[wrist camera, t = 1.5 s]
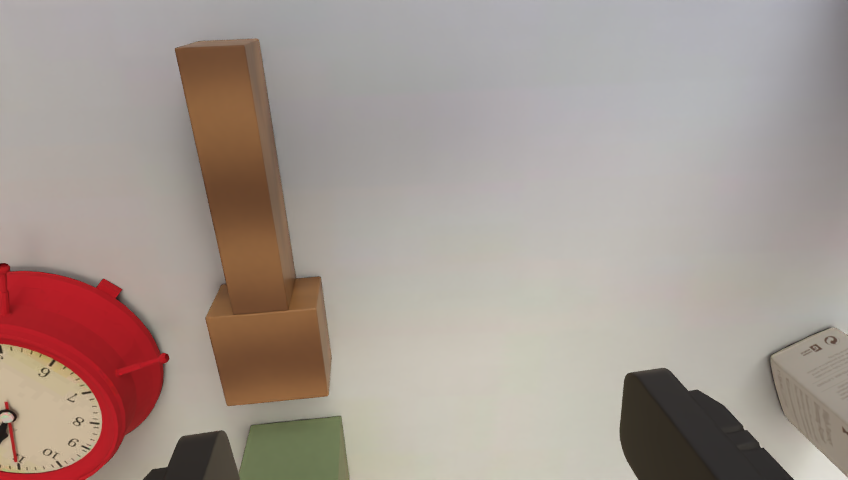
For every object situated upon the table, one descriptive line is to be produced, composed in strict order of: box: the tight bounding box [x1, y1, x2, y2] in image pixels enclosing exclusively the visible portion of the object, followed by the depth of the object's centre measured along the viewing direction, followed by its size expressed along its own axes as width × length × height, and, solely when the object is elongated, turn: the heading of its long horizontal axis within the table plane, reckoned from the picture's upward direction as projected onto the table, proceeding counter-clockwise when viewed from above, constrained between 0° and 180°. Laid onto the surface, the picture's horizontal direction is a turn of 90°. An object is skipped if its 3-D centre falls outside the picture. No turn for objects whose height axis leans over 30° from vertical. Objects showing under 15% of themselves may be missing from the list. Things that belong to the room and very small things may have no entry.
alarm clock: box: [0, 263, 169, 480], centre depth 25 cm, size 10×6×15 cm
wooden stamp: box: [175, 39, 332, 406], centre depth 23 cm, size 16×5×3 cm, turn 2°
